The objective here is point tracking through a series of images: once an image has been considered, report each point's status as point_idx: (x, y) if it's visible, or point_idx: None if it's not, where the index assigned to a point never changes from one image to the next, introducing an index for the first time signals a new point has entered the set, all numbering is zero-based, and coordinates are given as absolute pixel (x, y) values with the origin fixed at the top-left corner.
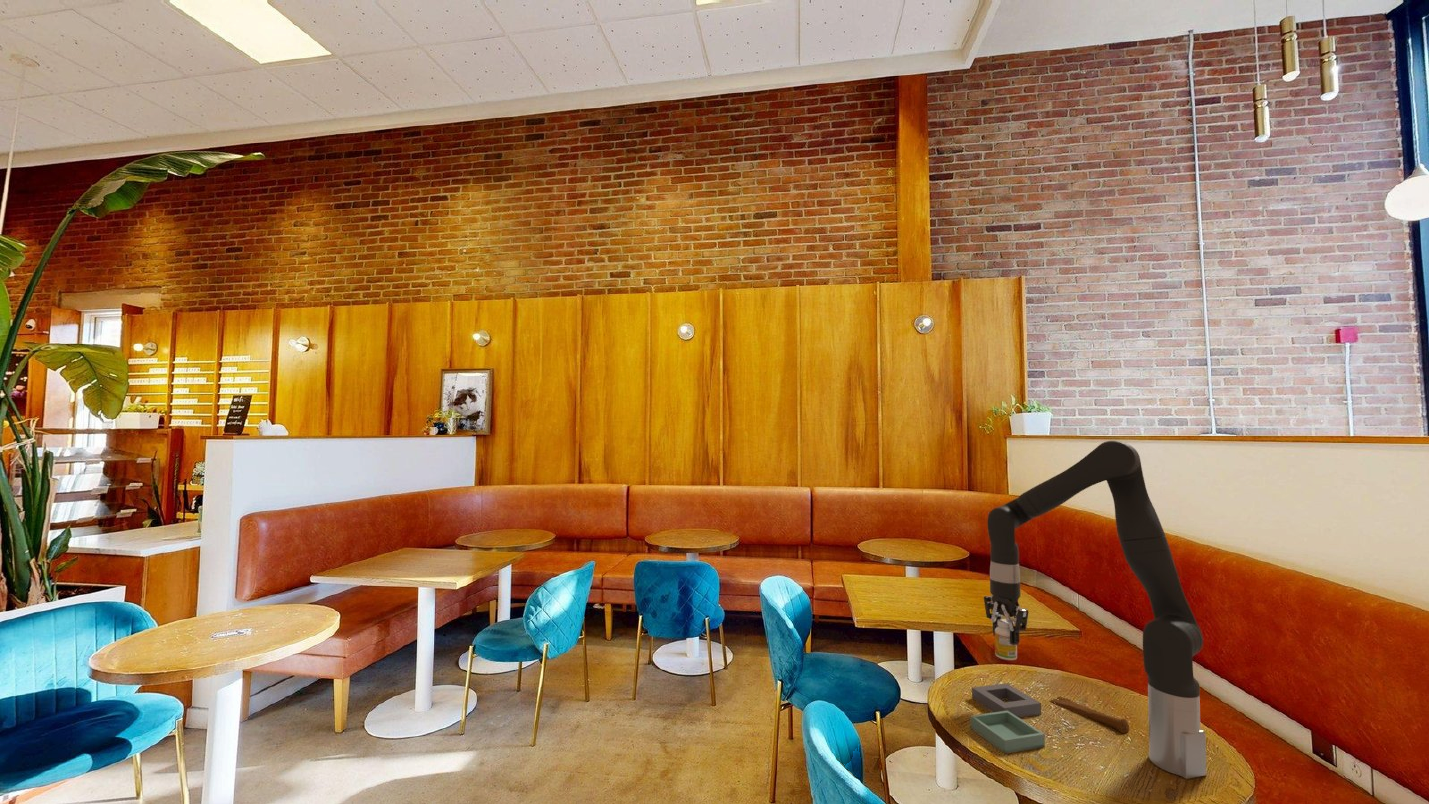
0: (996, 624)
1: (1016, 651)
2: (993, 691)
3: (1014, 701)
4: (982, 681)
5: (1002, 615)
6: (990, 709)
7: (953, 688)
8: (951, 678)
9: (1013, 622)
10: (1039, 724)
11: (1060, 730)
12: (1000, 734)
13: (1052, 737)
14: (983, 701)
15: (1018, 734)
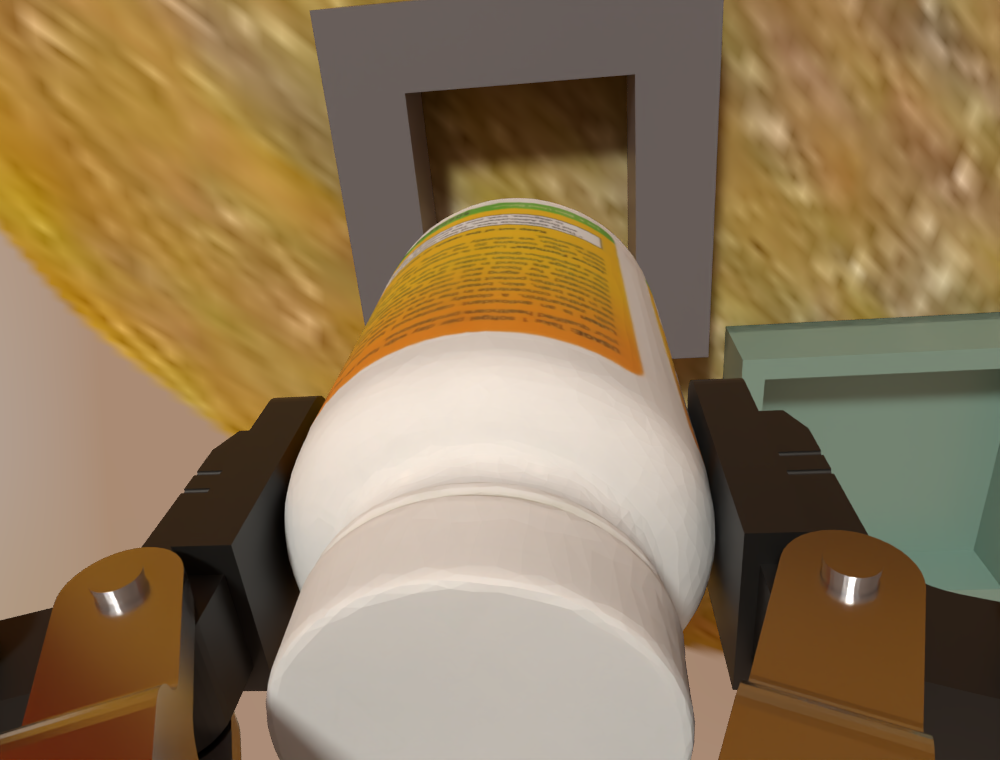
0: (274, 652)
1: (644, 292)
2: (424, 227)
3: (637, 204)
4: (103, 62)
5: (186, 748)
6: None
7: (238, 368)
8: (73, 286)
9: (633, 636)
10: (819, 117)
11: (946, 14)
12: (854, 486)
13: (987, 163)
14: None
15: (896, 389)
